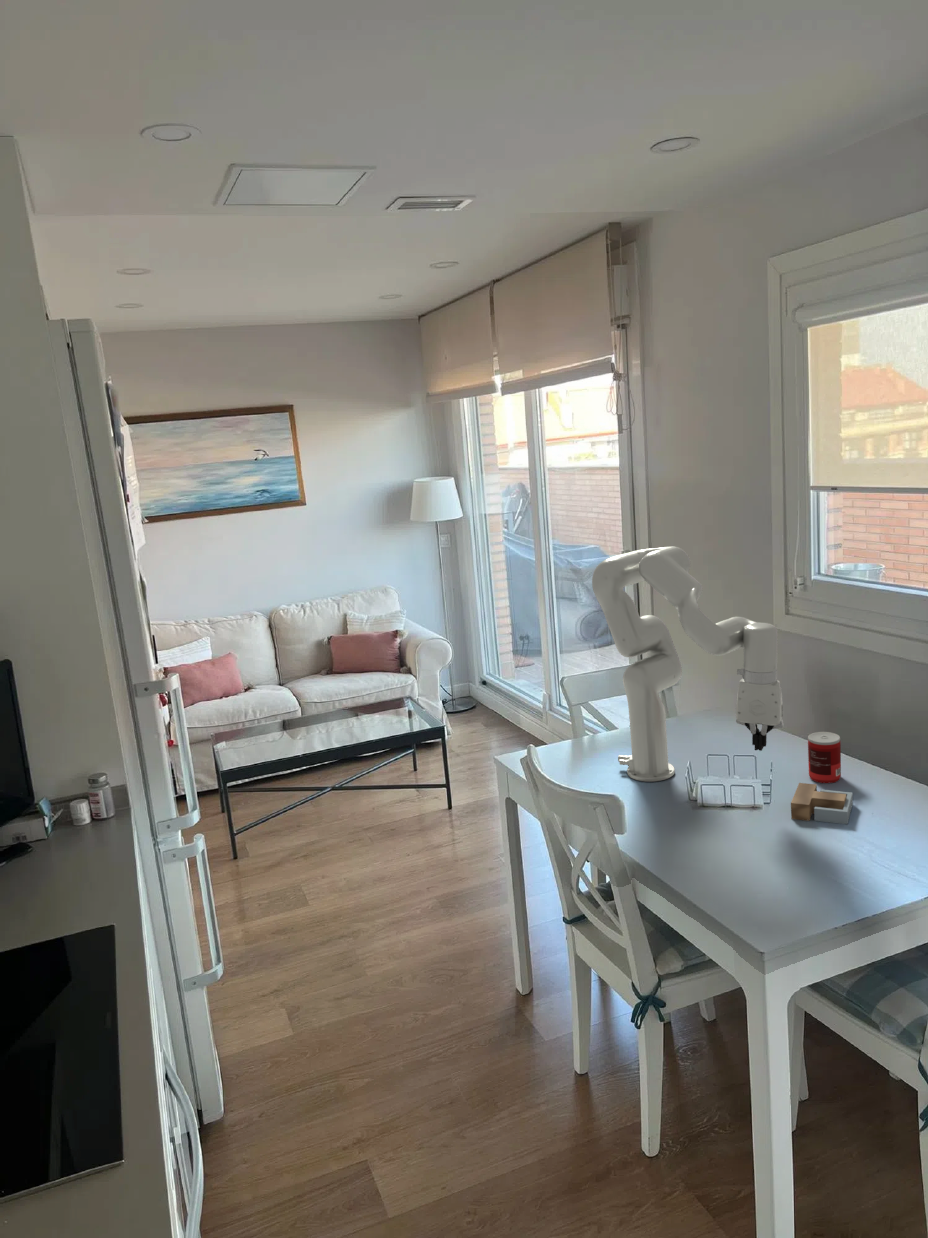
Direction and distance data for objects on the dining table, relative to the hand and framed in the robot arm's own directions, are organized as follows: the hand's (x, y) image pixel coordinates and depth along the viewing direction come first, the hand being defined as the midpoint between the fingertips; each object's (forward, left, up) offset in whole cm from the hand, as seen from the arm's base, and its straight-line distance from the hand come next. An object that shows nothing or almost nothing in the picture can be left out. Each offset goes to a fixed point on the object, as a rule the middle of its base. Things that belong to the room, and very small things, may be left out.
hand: (759, 748), depth 214 cm
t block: (+14, 0, -14) cm, 20 cm away
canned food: (+12, +20, -15) cm, 27 cm away
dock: (+16, 0, -14) cm, 22 cm away
